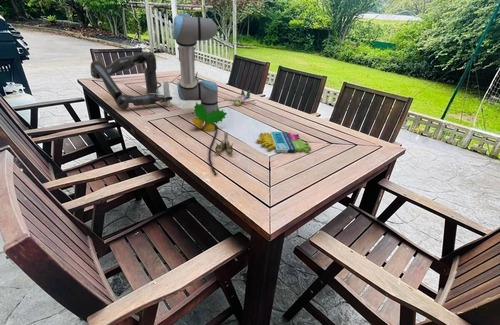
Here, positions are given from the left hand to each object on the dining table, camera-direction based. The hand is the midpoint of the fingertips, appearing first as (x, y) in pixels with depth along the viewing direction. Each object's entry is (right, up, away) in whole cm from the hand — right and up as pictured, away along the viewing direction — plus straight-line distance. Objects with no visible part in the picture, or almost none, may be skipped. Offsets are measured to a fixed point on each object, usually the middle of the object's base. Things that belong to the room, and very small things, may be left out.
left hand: (170, 97), depth 198 cm
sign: (+79, -38, -45) cm, 99 cm away
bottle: (-3, -6, +2) cm, 7 cm away
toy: (+53, +2, +23) cm, 58 cm away
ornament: (+35, -28, -33) cm, 56 cm away
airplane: (+3, +26, +60) cm, 66 cm away
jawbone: (+47, -44, -59) cm, 87 cm away
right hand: (+12, +21, +2) cm, 24 cm away
